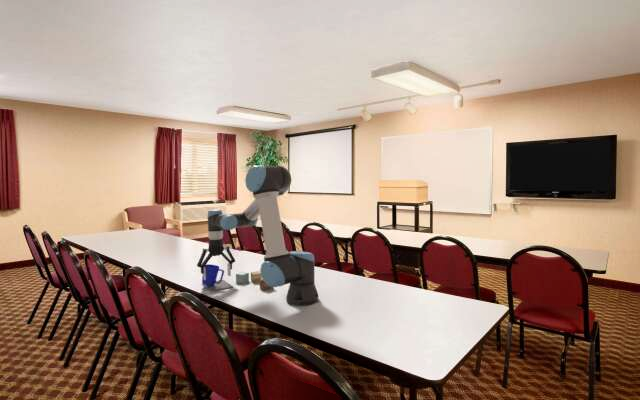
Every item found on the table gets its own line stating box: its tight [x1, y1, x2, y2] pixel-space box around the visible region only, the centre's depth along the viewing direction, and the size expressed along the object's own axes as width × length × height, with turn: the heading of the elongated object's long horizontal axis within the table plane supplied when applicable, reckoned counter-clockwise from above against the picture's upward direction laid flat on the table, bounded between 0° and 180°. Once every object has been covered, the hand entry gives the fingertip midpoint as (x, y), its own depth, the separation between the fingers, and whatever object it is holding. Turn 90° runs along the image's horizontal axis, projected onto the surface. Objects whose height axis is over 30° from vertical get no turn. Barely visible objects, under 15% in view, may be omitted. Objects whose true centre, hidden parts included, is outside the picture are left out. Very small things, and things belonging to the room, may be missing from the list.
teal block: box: [235, 271, 250, 285], centre depth 201 cm, size 5×5×5 cm
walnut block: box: [259, 279, 274, 291], centre depth 188 cm, size 5×5×5 cm
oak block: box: [250, 270, 262, 284], centre depth 202 cm, size 5×5×5 cm
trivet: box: [201, 279, 234, 293], centre depth 194 cm, size 16×12×1 cm
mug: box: [201, 263, 225, 285], centre depth 192 cm, size 8×12×10 cm
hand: (217, 277), depth 194 cm, fingers open, 13 cm apart
